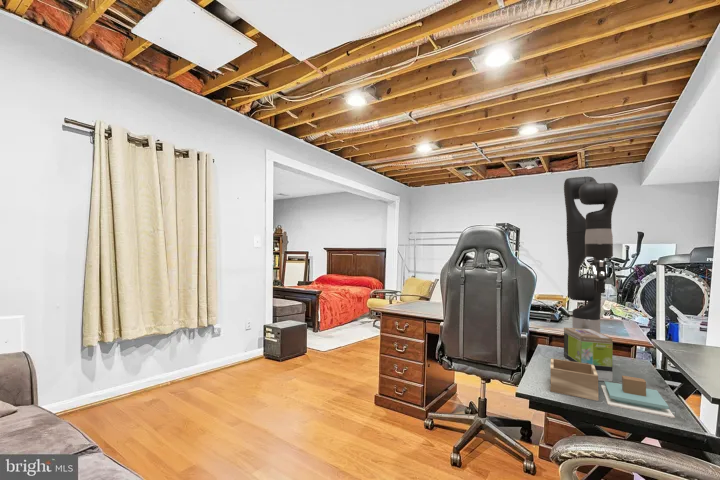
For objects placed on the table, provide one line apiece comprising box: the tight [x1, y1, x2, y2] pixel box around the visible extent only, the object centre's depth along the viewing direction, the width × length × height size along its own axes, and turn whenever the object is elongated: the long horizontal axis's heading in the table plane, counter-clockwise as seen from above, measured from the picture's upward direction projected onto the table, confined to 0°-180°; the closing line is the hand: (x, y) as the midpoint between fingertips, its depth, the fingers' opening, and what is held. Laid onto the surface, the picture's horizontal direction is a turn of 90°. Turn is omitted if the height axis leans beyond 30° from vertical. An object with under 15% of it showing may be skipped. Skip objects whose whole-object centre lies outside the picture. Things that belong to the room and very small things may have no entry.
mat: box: [600, 384, 676, 419], centre depth 97 cm, size 16×14×1 cm
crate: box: [550, 358, 599, 401], centre depth 104 cm, size 12×12×7 cm
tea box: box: [563, 327, 614, 383], centre depth 119 cm, size 15×10×15 cm
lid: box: [604, 375, 670, 410], centre depth 97 cm, size 13×13×6 cm
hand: (599, 291), depth 110 cm, fingers open, 8 cm apart
